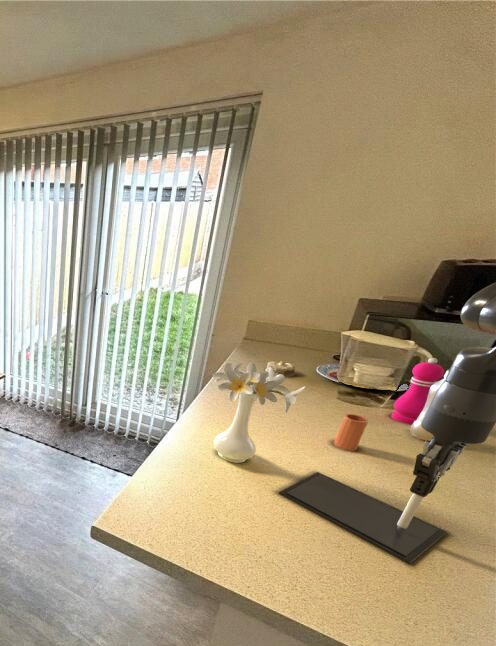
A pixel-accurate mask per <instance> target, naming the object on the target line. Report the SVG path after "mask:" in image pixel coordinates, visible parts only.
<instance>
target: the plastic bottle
mask: <svg viewBox="0 0 496 646" xmlns="http://www.w3.org/2000/svg"><path fill="white" fill-rule="evenodd" d="M449 370H450V368H449V369H447V370H446V371H445V372H444V374H443V378H441V379H439V380H437V381H436V383H434V384H433V385H432V386H431V387H430V391H429V394H428V398H427V401H426V404H425V406H424V408H423V410H422V412H421V413H420V415H419V416H418V418H417V419H416V420H415V421H414V423H413V424H410V428H409V432H410V434H411V436H413V437H415V438H416V439H419V440H421V441H425V442H426V441H427V440H431V439H432V437H433V435H432V434H431V433H430V432H427V431H426V430H424V429H423V428H422V426H421V423H422V421H423V419H424V416H425V414H426V412H427V410H428V408H429V406H430V404H431V402H432V400H433V398H434V396H435V394H436V392H437V390H438V389H439V387H440V386H441V385H442V383H443V382H444V380H445V378H446V376H447V374H448V372H449Z"/></svg>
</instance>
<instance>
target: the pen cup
mask: <svg viewBox="0 0 496 646" xmlns="http://www.w3.org/2000/svg"><path fill="white" fill-rule="evenodd" d="M368 424H369V419H368V418H366V417H365V416H362V415H358V414H354V413H345V414H344V416H343V418H342V420H341V424H340V426H339V428H338V431H337V434H336V436H335V437H334V438H335V439H334V441H333V444H334V446H335V447H338V448H339V449H341V450H345V451H350V452H351V451H353V452H354V451H357V450H358V447H359V445H360V442H361V440H362V438H363V435H364V433H365V431H366V429H367V426H368Z"/></svg>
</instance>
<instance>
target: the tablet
mask: <svg viewBox="0 0 496 646" xmlns="http://www.w3.org/2000/svg"><path fill="white" fill-rule="evenodd" d="M278 495H280V496H282V497H284V498H285V499H287V500H288V501H290V502H293V503H295V504H297V505H298V506H300V507H301V508H303V509H306V510H307V511H309V512H311V513H314V514H315V515H317V516H318V517H320V518H322V519H324V520H326V521H328V522H329V523H331V524H332V525H335V526H337V527H339V528H341V529H342V530H344V531H346V532H349V533H351V535H353V536H355V537H357V538H359V539H361V540H363V541H364V542H367V543H368V544H370V545H372V546H374V547H376V548H378V549H380V550H382V551H383V552H385V553H387V554H389V555H391V556H393V557H394V558H396V559H398V560H400V561H402V562H404V563H406V564H407V565H411V564H412V563H413V562H414V561H415V560H417V559H418V558H419V557H420V556H422V554H424V553H425V552H426V551H427V550H429V549H430V548H431V547H432V546H433V545H435V544H436V543H437V542H438V541H440V540H441V538H443V537H444V536H445V535H446V534H447V533H448V531H446V530H444V529H442V528H440V527H438V526H436V525H433V524H431V523H429V522H427V521H425V520H422V519H420V518H418V517H416V516H415V515H414V516H413V518H412V520H411V521H410V523H409V525H408V527H407V528H405V529H404V530H403V531H401V530H399V529H398V528H397V527H398V525H397V523H398V521H399V519H400V517H401V515H402V513H403V511H404V510H401V509H399V508H396V507H395V506H393V505H391V504H389V503H386V502H384V501H381V500H380V499H378V498H375V497H373V496H371V495H368V494H366V493H364V492H362V491H360V490H357V489H356V488H353V487H351V486H349V485H347V484H345V483H343V482H340V481H338V480H336V479H334V478H332V477H329V476H327V475H325V474H323V473H321V472H318V471H317V472H315V473H313V474H311V475H309V476H307V477H306V478H303V479H301V480H299V481H298V482H296V483H294V484H292V485H290V486H288V487H285V488H284V489H282V490H281V491H279V492H278Z"/></svg>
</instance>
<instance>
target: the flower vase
mask: <svg viewBox="0 0 496 646" xmlns="http://www.w3.org/2000/svg"><path fill="white" fill-rule="evenodd" d="M242 365H243V363H242V362H241V363H238V364H236V365H235V366H234V368H233V363H231V362H229V363H227V364H225V365H224V368H223V372H222V371H221V372H215V373H213V374H212V375H211V377H212V378H217V379H216V380H215V381H214V383H220V382H222V383H220V384H219V385H218V386H217V389H218V390H220V391H223V392H228V391H230V392H229V395H228V397H229V401H230V402H235V401H237V400H238V404H237V409H236V411H235V414H234V418H233V421H232V423H231V424H230V426H229V427H228V428H227V429H226V430H225V431H222V432H220V433H218V434H217V435H216V436H215V438H214V440H213V446H214V448H215V450H216V451H217V454H218V456H219V457H220V458H221V459H223V460H225V461H227V462H231V463H235V464H236V463H237V464H239V463H244V462H245V461H246V460H248V459H251V458H252V457H254V455H255V454H256V452H257V447H256V443H255V442H254V440H253V439H252V438H251V436H250V434H249V425H250V424H249V423H250V418H251V415H252V410H253V407H254V405H255V403H256V401H257V399H258V401H259V402H258V403H259V404H260V405H261V406H263V405H264V404H265V403H266V399H267V400H268V401H269V402H272V403H277V402H278V399H277V396H276V395H275V394H278V395H279V396H282V397H283V401H284V415H285V416H286V415H287V413H288V411H289V409H290V407H291V406H293V405H295V404H296V402H297V400H298V397H297V396H298V395H299V394H300V393H301V392H303V390H304V389H306V387H307V386H306V385H305V386H303V387H300V388H298V389H296V390H293V391H290V390H289V388H288V387H286V386H284V385H283V383H284V382H285V380H286V377H285V376H284V375H282V374H279V375H274V372H273V370H272V368H270V367H269V372H267V371H266V370H263V371H259V372H257V371H258V369H257V365H256V364H255V363H254V362H250V363H248V365H247V367H246V371H244V370H241V369H240V368H241V367H242ZM224 381H229V382H224ZM251 386H252V387H251Z"/></svg>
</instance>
